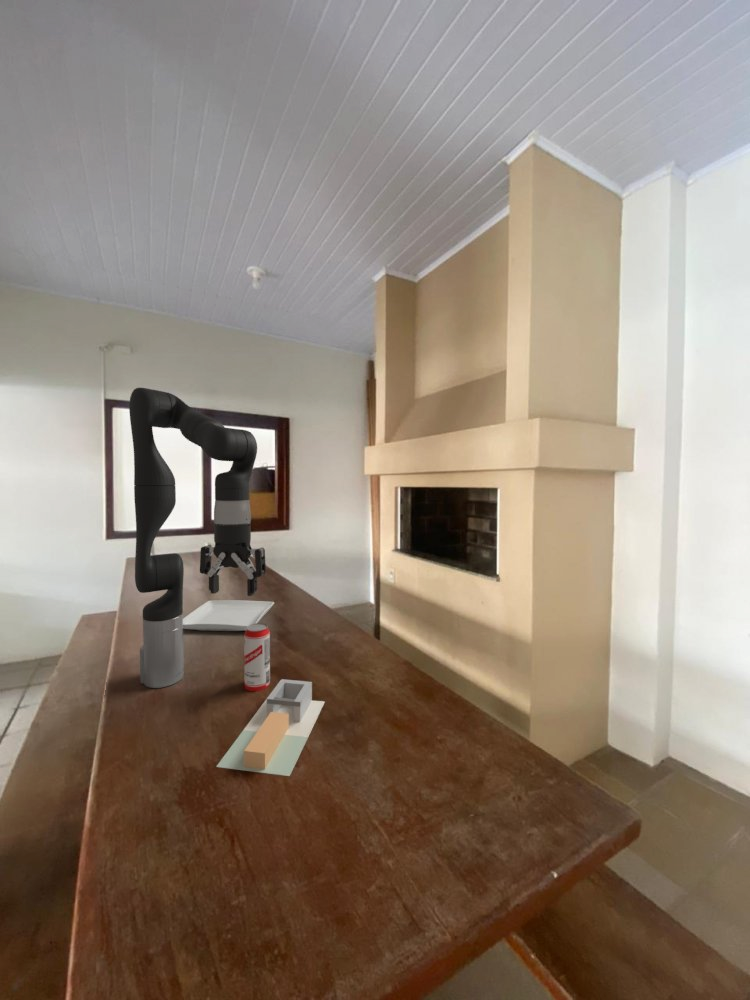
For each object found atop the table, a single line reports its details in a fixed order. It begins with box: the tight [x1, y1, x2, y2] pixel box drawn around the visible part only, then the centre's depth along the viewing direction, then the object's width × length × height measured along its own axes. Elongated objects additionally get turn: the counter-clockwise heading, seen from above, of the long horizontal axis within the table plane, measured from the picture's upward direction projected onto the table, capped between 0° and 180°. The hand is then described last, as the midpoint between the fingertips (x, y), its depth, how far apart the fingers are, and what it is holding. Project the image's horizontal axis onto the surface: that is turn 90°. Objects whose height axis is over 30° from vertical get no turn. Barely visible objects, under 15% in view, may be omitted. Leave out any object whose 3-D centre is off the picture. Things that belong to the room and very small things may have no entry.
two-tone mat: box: [215, 678, 326, 777], centre depth 82 cm, size 14×23×6 cm, turn 172°
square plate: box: [183, 599, 275, 632], centre depth 147 cm, size 27×27×4 cm
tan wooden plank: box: [244, 712, 289, 769], centre depth 77 cm, size 4×12×3 cm, turn 172°
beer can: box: [243, 622, 271, 692], centre depth 100 cm, size 6×6×16 cm
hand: (233, 593), depth 86 cm, fingers open, 8 cm apart
